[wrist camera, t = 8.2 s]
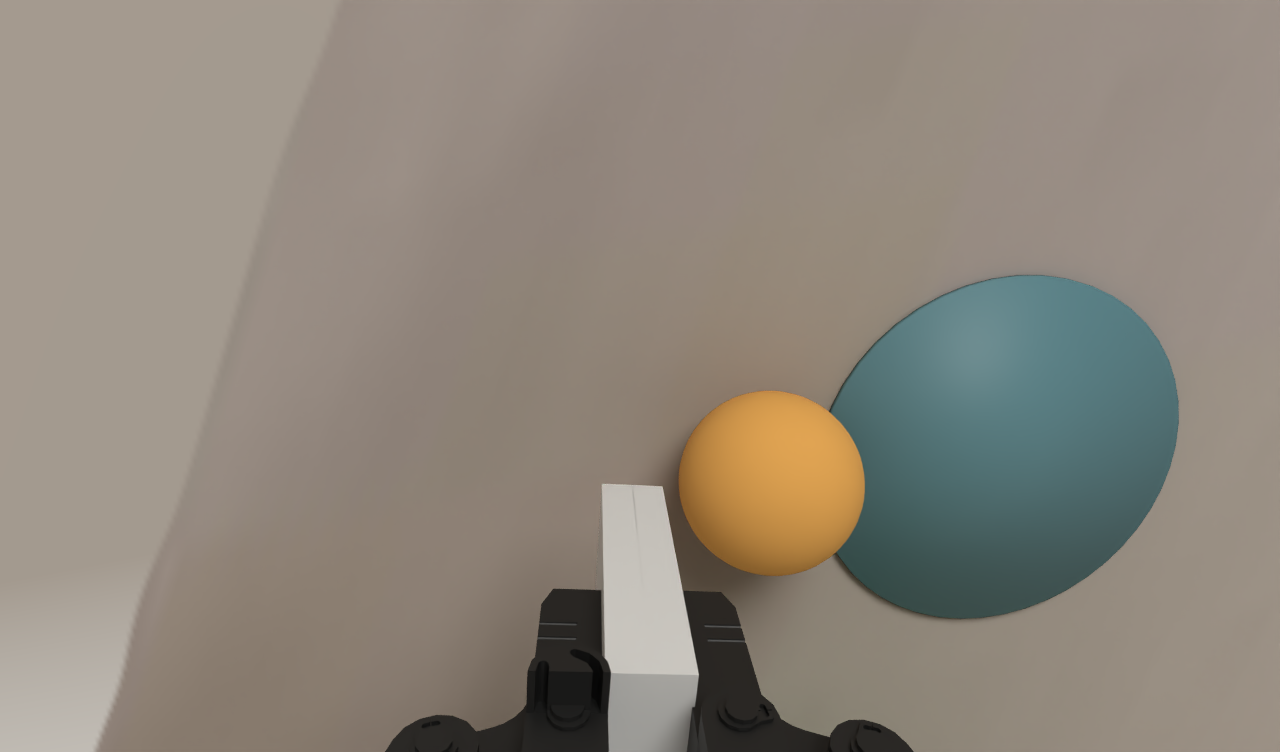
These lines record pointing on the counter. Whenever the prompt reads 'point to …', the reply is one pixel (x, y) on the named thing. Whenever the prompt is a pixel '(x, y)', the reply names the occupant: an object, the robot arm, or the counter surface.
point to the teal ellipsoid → (1005, 444)
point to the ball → (771, 483)
